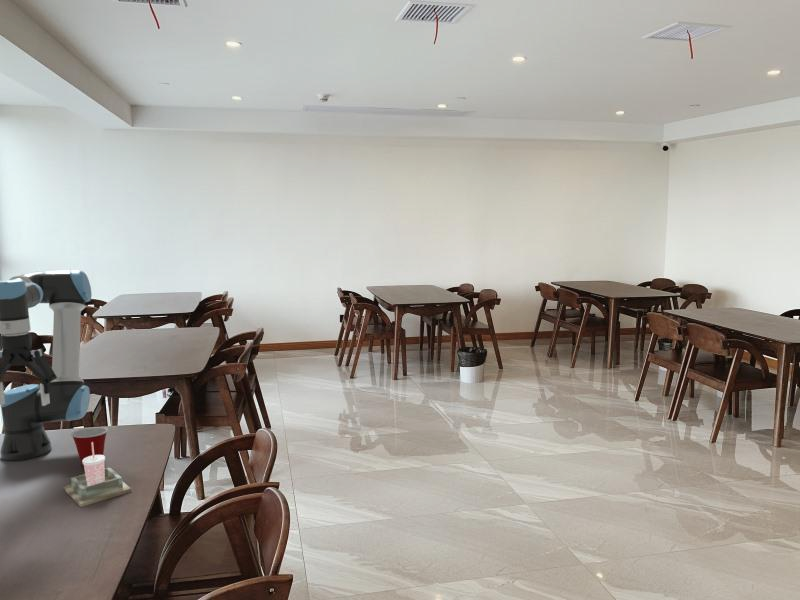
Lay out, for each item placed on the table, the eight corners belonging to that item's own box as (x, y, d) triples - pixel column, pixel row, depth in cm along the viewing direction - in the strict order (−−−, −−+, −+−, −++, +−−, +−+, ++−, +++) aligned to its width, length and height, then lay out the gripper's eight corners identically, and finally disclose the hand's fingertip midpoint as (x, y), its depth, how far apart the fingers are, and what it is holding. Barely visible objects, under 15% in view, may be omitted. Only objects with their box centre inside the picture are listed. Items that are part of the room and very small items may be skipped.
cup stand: (64, 489, 185) (62, 476, 184) (112, 475, 194) (111, 463, 194) (80, 507, 173) (79, 493, 172) (131, 491, 182) (130, 478, 182)
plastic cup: (117, 459, 207) (114, 425, 205) (99, 472, 196) (95, 436, 195) (87, 458, 208) (83, 424, 206) (67, 472, 197) (63, 436, 196)
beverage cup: (86, 493, 179) (81, 447, 177) (83, 486, 184) (79, 441, 182) (109, 488, 183) (105, 443, 181) (106, 481, 188) (102, 437, 186)
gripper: (-36, 336, 174) (-28, 408, 177) (50, 335, 173) (57, 408, 176) (-18, 331, 182) (-10, 401, 185) (65, 330, 181) (72, 400, 184)
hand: (23, 404), depth 181 cm, fingers open, 13 cm apart
